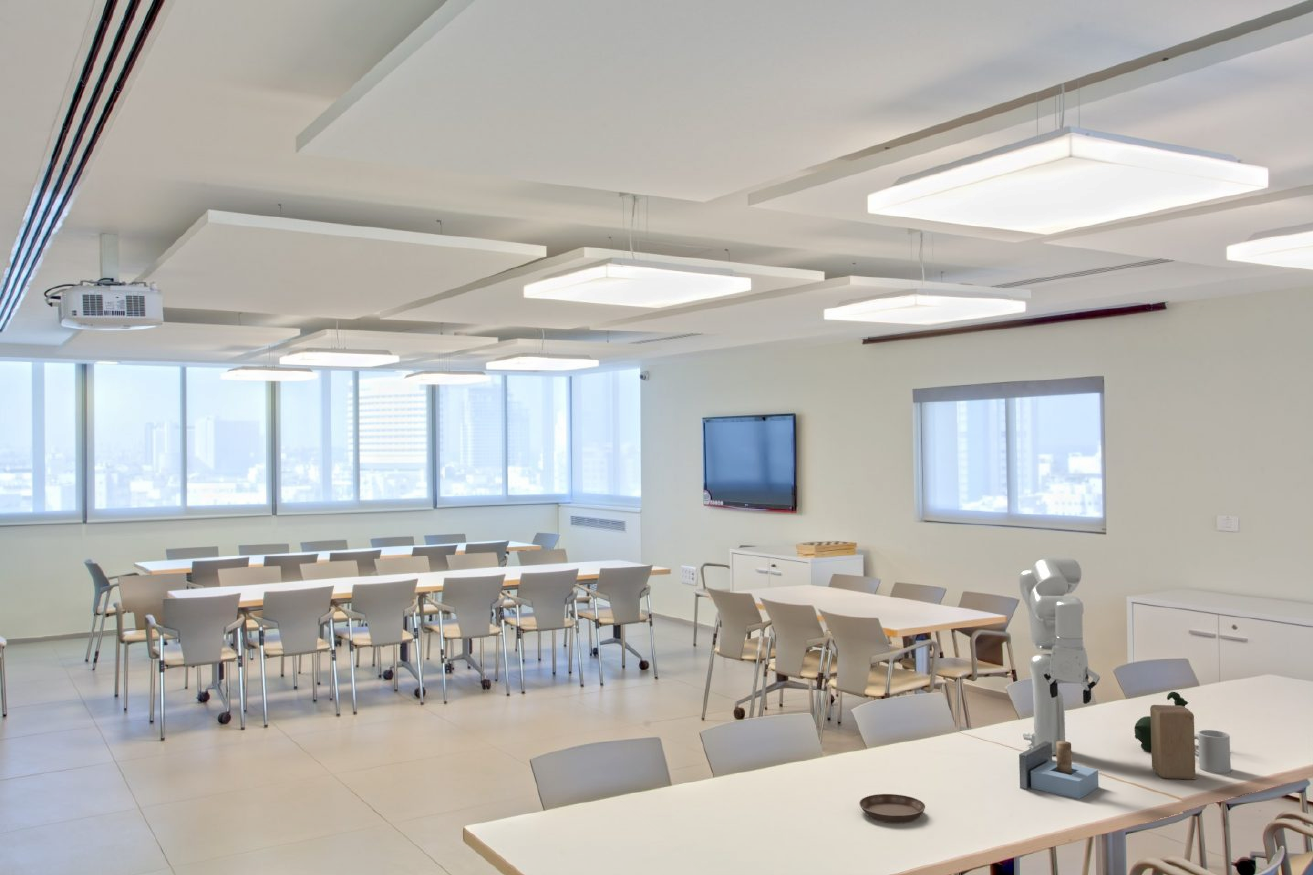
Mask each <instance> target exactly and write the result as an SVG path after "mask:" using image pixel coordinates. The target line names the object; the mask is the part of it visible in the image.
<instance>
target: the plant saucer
mask: <svg viewBox="0 0 1313 875" xmlns="http://www.w3.org/2000/svg"><path fill="white" fill-rule="evenodd" d="M858 803H859V807H860V808H861V810H862V811H863V812H864V814H866V816H868V817H869V818H871V819H873V820H876V821H878V822H883V823H888V824H889V823H890V824H904V823H911V822H913V821H916V820H917V819H918V818H920V816H922V814H923V812H924V811H925V809H926V805H925V803H924V802H923V801H921V800H919V799H918V798H915V797H912V796H907V795H904V794H903V795H902V794H894V793H878V794H873V795H871V794H870V795H867V796H865V797H863V798H861V799H860V800H859V802H858Z"/></svg>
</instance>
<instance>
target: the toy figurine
mask: <svg viewBox="0 0 1313 875" xmlns="http://www.w3.org/2000/svg"><path fill="white" fill-rule="evenodd" d="M1166 699H1167V700H1168V701H1170V700H1171V699H1173V700H1174V702H1173V705H1176V706H1184V707H1185V708H1186V705H1187V706H1188V704H1189V702H1188V701H1187V700H1185V699H1184V698H1183V697H1181V695H1180V693H1178V692H1176V691H1169V693H1168V694H1167V697H1166ZM1134 738H1135V739H1136V740H1138V741H1139V742H1140V747H1141V749H1142V750H1143V751H1144V752H1148V753H1151V717H1150V715H1148V716H1143V717H1140V718H1139V719H1138V720H1137V721H1136V723H1135V725H1134Z"/></svg>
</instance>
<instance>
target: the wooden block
mask: <svg viewBox="0 0 1313 875" xmlns="http://www.w3.org/2000/svg"><path fill="white" fill-rule="evenodd" d="M1149 709H1150V714H1149V716H1150V717H1151V752H1150V753H1151V767H1152V769H1153V771H1154V772H1155V773H1156V774H1157V775H1158V776H1159V777H1160V778H1162V779H1173V780H1174V779H1175V780H1176V779H1177V780H1195V779H1196V776H1197V775H1196V756H1195V750H1196V746H1195V745H1196V743H1195V742H1196V739H1195V736H1194V734H1195V715H1194V713H1193V712H1192V711H1191V710H1189V709H1188V708H1187V707H1186V706H1185V707H1184V706H1176V705H1175V704H1173V705H1172V704H1171V705H1170V704H1168V705H1167V704H1166V705H1165V704H1152V705H1150V707H1149Z"/></svg>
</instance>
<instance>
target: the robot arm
mask: <svg viewBox="0 0 1313 875" xmlns="http://www.w3.org/2000/svg"><path fill="white" fill-rule="evenodd" d="M1081 579H1082V568H1081V566H1080V564H1079V562H1078V561H1077V560H1075V559H1074V558H1066V557H1065V558H1060V557H1056V558H1055V557H1054V558H1053V557H1052V558H1051V557H1050V558H1042V559H1038V560H1036V562H1035V563H1034V564H1033V568H1030V569H1025V570H1023V571H1021V573H1020V574H1019V577H1018V583H1019V589H1020V590H1019V591H1020V594H1021V596H1022V598H1023V601H1024V603H1025V605H1026V609H1027V612H1028V618H1029V620H1028V621H1029V627H1030V630H1029V631H1030V637H1031V643H1032V645H1033V647H1034V648H1035V649H1036V650H1039V651H1046V652H1047V651H1049V652H1051V653H1038V654H1035V655H1033V656H1032V657H1031V658H1030V661H1029V671H1030V677H1031V683H1032V697H1033V700H1032V701H1033V729H1034V730H1033V731H1034V733H1030V732H1024V733H1023V740H1026V741H1030V744H1029V749H1031V748H1033V747H1035V746H1037V745H1039V744H1041V743H1043V742H1045V741H1047V742H1052V756H1057V748H1056V742H1057V741H1066V718H1065V715H1066V714H1065V697H1064V694H1063V692H1061V690H1060V689H1059V687H1058V686H1059V684H1060V685H1061V684H1066V685H1080V684H1081V686H1082V688H1084V689H1083V691H1082V700H1083V701H1082V703H1083V704H1085V705H1087V704H1088V703H1090V701H1091V700H1092V689H1093V688H1094V687H1095V686H1097V684H1098V683H1099V681H1100V678H1101V676H1100V675H1099V674H1097V673H1096V672H1094V671H1093V670H1091V669H1090V668H1089V660H1088V656H1087V651H1086V648H1085V647H1084V646H1085V645H1084V634H1083V633H1084V632H1083V631H1084V629H1083V627H1084V626H1083V622H1084V621H1083V615H1084V604H1083V602H1082V601H1081V599H1080V598H1079V597H1078V596H1074V595H1069V594H1072V593H1073V592H1074V591H1075V590H1076V588H1078V586H1079V584H1080V583H1081ZM1090 677H1091V678H1092V681H1091V682H1090V681H1089V678H1090Z"/></svg>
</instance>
